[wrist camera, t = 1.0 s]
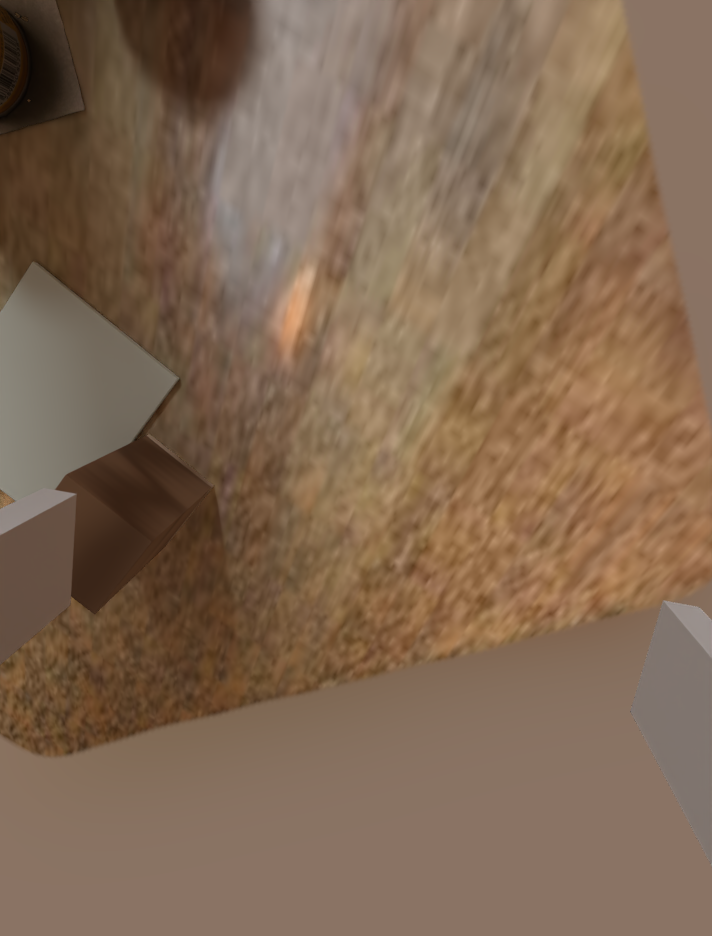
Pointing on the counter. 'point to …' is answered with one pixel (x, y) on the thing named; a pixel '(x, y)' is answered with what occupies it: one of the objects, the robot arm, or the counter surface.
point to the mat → (67, 385)
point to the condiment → (35, 65)
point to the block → (127, 514)
